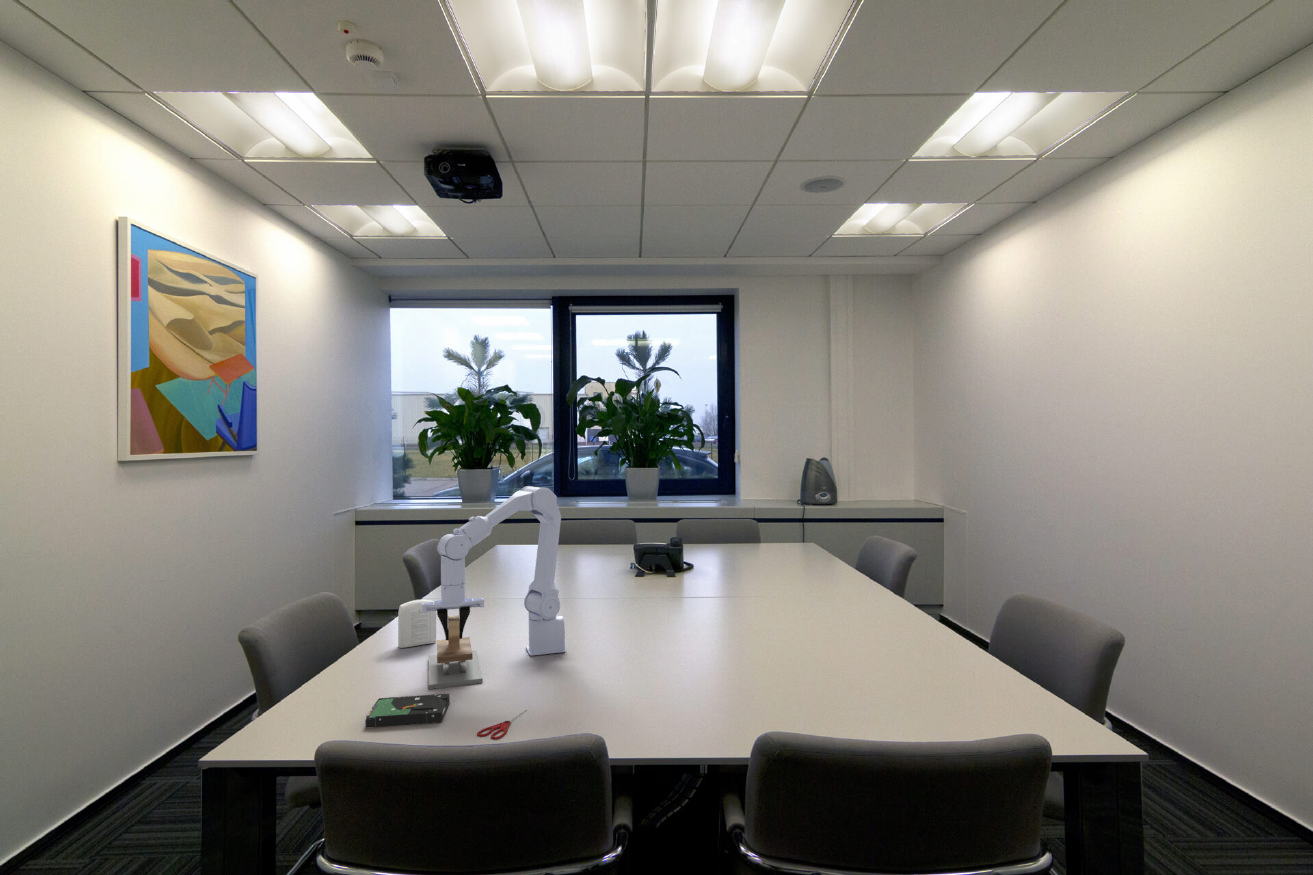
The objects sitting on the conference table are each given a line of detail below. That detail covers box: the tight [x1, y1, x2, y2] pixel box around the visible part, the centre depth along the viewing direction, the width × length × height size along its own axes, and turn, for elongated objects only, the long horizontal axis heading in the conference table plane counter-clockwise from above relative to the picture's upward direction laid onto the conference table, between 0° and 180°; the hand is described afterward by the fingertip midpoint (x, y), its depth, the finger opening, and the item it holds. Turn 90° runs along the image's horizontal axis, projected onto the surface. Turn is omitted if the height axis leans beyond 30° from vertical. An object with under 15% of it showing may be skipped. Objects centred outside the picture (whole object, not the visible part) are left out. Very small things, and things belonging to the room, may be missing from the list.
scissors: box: [476, 709, 528, 741], centre depth 135 cm, size 5×14×1 cm, turn 158°
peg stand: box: [428, 650, 484, 690], centre depth 166 cm, size 12×22×4 cm, turn 19°
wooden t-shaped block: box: [436, 614, 473, 664], centre depth 166 cm, size 14×8×8 cm, turn 19°
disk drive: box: [364, 693, 451, 728], centre depth 139 cm, size 10×3×15 cm
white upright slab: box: [397, 599, 437, 649], centre depth 188 cm, size 10×4×12 cm, turn 123°
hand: (453, 638), depth 166 cm, fingers closed on wooden t-shaped block, 2 cm apart
